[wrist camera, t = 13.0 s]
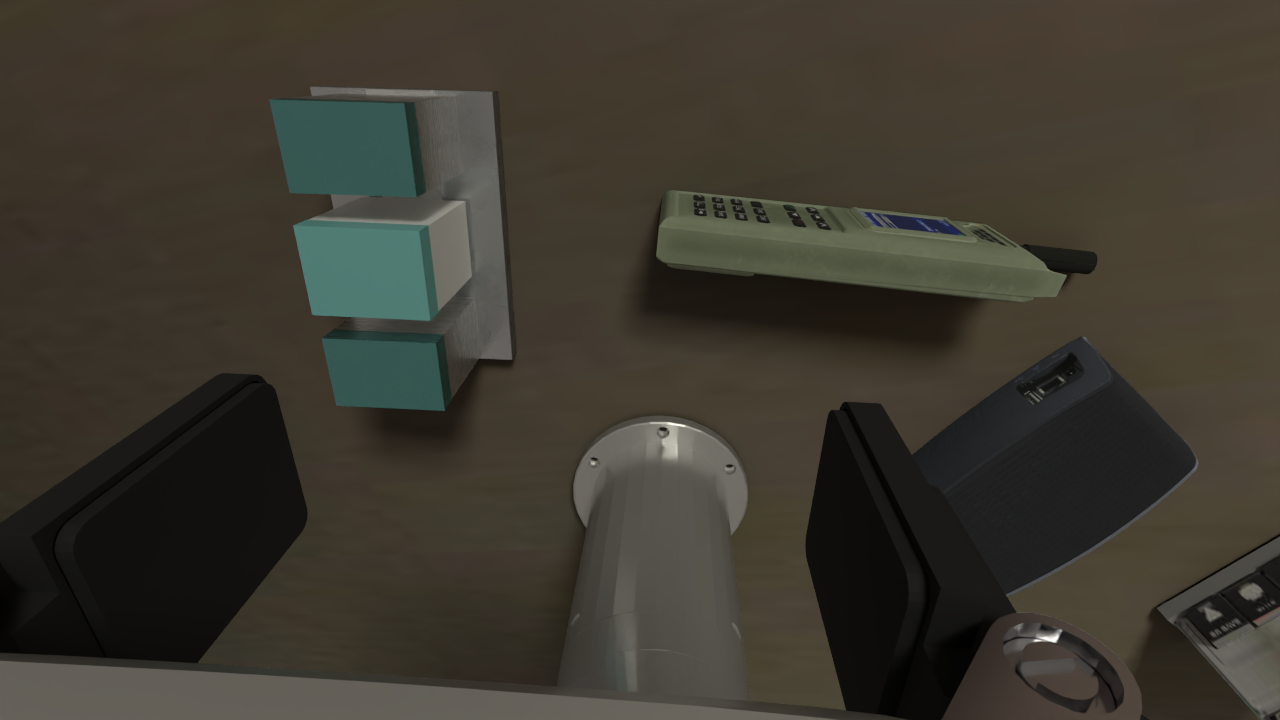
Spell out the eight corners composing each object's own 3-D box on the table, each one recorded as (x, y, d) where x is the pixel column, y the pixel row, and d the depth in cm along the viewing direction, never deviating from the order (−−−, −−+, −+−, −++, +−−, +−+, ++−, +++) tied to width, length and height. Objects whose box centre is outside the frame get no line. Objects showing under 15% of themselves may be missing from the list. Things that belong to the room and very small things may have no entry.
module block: (472, 276, 37) (430, 320, 31) (374, 271, 38) (312, 314, 31) (465, 200, 35) (419, 231, 29) (361, 196, 36) (293, 225, 29)
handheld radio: (664, 180, 36) (1091, 227, 36) (658, 234, 38) (1067, 280, 38) (661, 209, 30) (1171, 266, 30) (653, 273, 32) (1139, 327, 32)
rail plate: (516, 352, 41) (481, 416, 34) (369, 345, 42) (302, 407, 34) (497, 90, 34) (448, 99, 27) (321, 86, 35) (224, 92, 27)
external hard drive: (1185, 442, 42) (1233, 478, 38) (950, 594, 49) (972, 637, 46) (1071, 324, 39) (1112, 352, 35) (837, 505, 46) (851, 543, 42)
